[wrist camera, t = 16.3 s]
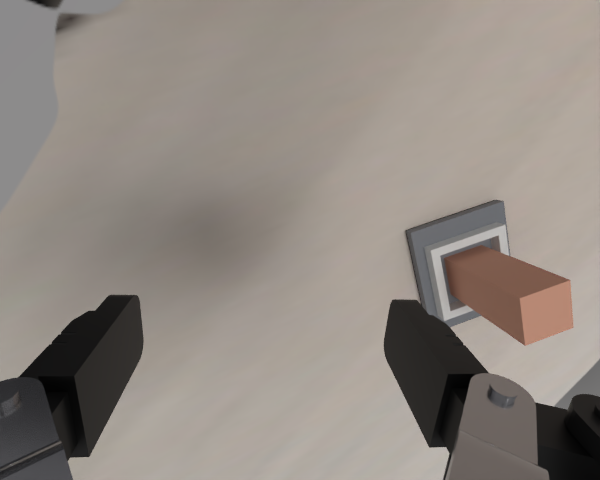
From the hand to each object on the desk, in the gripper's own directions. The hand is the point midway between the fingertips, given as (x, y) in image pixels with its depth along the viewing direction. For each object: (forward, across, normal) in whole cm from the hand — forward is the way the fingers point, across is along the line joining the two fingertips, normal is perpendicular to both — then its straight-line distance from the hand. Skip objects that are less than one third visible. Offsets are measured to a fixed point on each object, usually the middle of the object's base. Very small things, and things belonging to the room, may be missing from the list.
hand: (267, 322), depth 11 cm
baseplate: (+29, -25, +10) cm, 39 cm away
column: (+28, -25, +10) cm, 38 cm away
